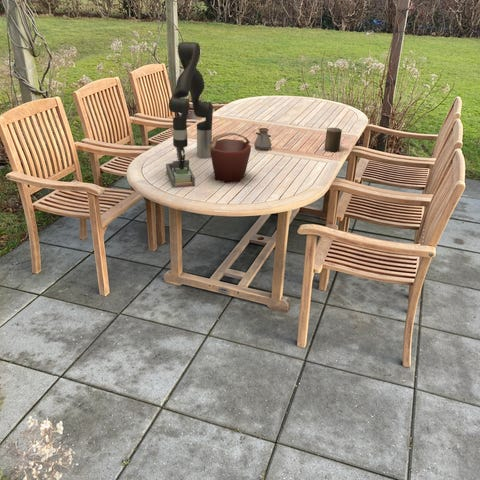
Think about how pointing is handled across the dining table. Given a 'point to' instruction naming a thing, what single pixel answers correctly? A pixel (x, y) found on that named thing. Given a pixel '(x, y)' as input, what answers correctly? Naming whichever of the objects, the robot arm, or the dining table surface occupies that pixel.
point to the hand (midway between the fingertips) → (181, 168)
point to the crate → (181, 172)
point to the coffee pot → (262, 140)
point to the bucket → (229, 158)
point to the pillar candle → (333, 139)
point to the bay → (172, 180)
